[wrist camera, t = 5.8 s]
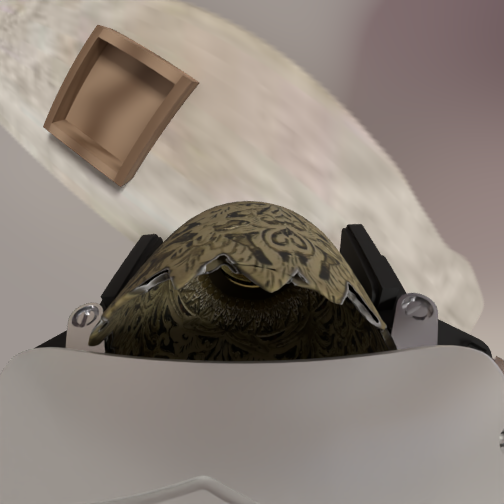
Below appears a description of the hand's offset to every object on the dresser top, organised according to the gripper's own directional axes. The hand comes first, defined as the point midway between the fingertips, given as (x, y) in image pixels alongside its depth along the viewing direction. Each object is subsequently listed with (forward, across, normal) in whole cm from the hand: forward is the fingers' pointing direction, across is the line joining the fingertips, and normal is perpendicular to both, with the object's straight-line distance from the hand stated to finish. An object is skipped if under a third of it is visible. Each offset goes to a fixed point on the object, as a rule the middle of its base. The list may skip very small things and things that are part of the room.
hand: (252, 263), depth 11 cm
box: (+18, +13, -8) cm, 24 cm away
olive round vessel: (+2, 0, 0) cm, 2 cm away
